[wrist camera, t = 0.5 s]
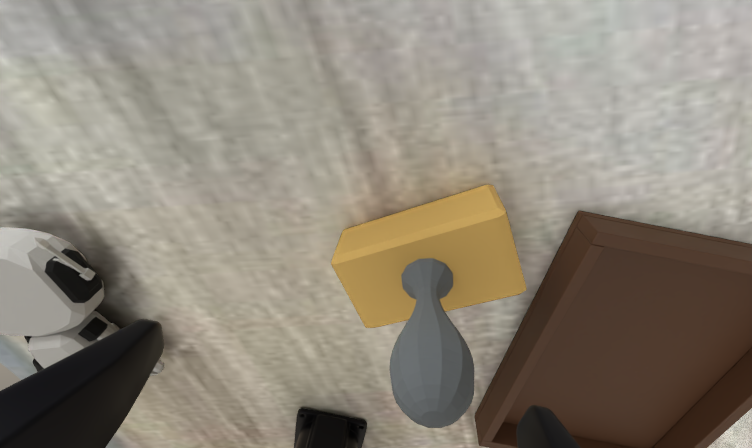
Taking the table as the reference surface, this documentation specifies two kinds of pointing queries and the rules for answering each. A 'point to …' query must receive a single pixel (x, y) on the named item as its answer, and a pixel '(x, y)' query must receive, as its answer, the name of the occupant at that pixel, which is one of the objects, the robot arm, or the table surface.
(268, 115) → the table surface
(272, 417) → the table surface
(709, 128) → the table surface
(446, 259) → the rubber stamp
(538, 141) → the table surface
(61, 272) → the robot toy
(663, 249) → the tray
